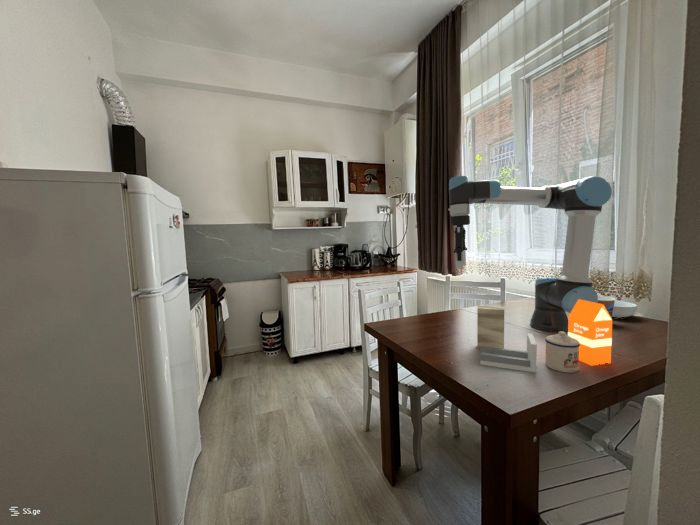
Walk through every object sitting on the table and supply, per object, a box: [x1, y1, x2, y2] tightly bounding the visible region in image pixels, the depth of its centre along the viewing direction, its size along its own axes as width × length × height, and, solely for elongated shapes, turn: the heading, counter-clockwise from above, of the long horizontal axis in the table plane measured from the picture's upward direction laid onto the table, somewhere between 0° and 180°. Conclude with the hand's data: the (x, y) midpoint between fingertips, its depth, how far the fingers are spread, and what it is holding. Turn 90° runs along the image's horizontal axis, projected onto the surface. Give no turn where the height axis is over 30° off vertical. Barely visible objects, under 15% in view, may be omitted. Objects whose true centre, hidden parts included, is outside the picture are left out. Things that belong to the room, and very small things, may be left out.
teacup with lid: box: [544, 331, 580, 374], centre depth 95 cm, size 12×9×12 cm
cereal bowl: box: [612, 300, 638, 318], centre depth 147 cm, size 17×17×7 cm
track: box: [479, 332, 538, 374], centre depth 99 cm, size 16×11×9 cm
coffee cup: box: [597, 295, 617, 319], centre depth 138 cm, size 10×10×12 cm
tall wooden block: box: [476, 305, 505, 350], centre depth 111 cm, size 4×9×16 cm, turn 64°
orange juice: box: [567, 299, 613, 367], centre depth 99 cm, size 8×9×20 cm
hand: (461, 267), depth 120 cm, fingers open, 13 cm apart
